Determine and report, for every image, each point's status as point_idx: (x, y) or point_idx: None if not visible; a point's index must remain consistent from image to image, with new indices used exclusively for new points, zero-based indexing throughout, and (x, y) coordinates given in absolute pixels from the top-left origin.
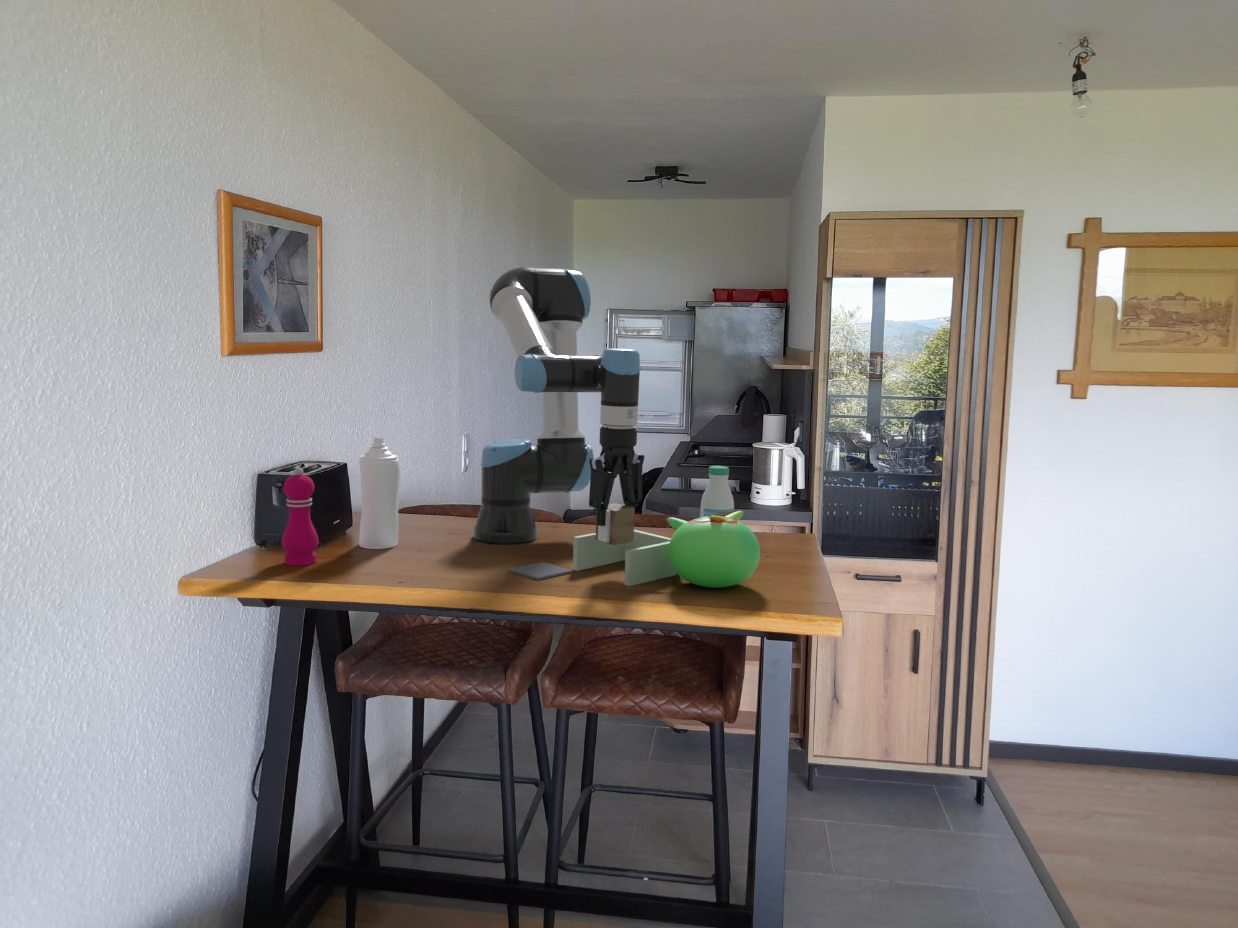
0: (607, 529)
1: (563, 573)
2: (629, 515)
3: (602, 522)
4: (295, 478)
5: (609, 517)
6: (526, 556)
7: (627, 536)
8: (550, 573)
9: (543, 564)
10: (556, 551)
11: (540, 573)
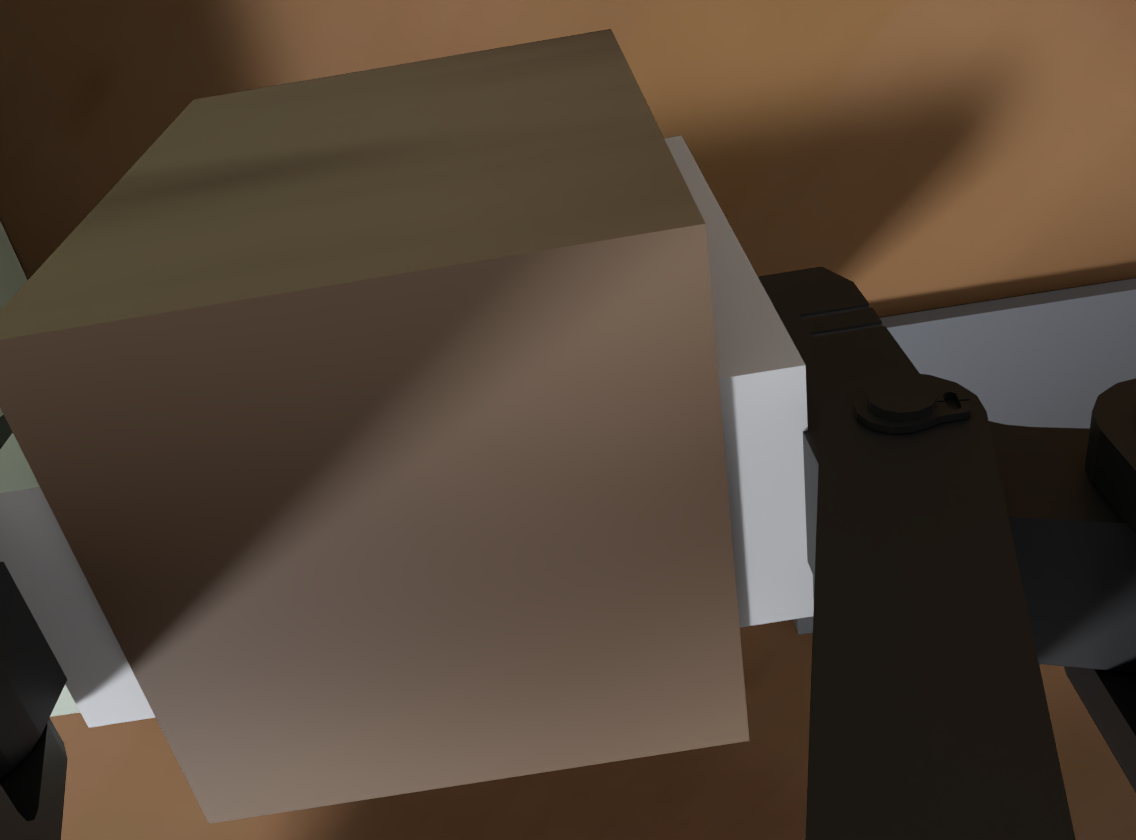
0: (714, 205)
1: (883, 320)
2: (206, 237)
3: (827, 297)
4: None
5: (715, 301)
6: (752, 806)
7: (315, 103)
8: (1005, 343)
9: None
10: (488, 832)
11: (1068, 380)
